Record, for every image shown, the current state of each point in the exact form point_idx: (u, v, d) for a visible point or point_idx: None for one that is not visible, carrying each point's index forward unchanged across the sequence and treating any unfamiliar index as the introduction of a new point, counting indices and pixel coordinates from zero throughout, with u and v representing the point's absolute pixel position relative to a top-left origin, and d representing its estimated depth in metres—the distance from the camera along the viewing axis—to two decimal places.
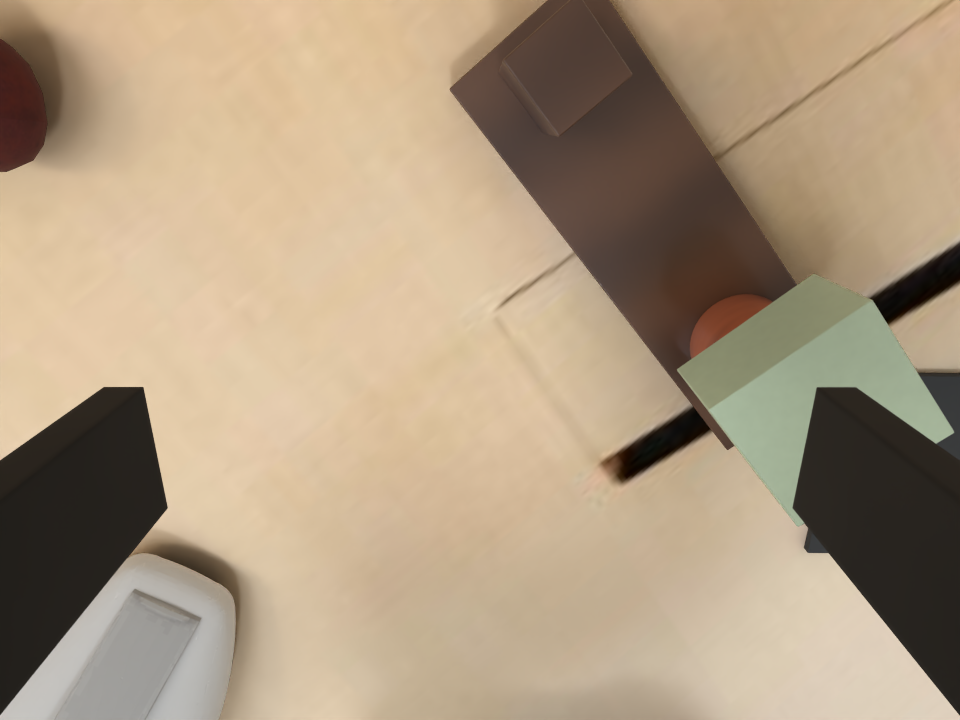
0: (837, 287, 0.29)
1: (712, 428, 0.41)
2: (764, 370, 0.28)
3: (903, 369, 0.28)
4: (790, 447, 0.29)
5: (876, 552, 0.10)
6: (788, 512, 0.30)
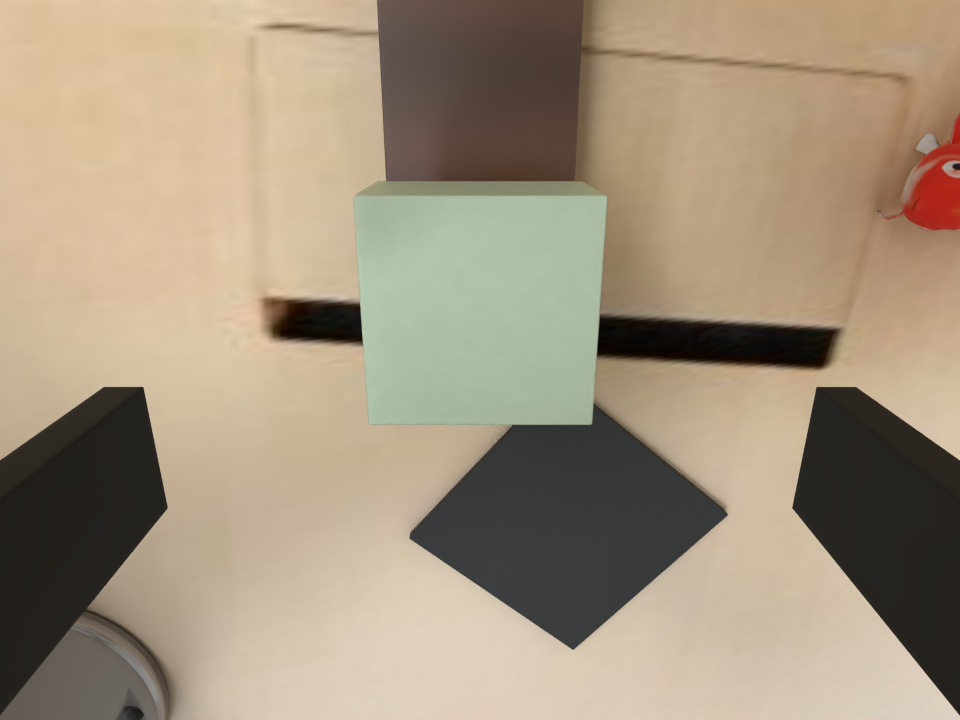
0: (589, 187, 0.22)
1: None
2: (446, 195, 0.20)
3: (587, 309, 0.21)
4: (416, 315, 0.21)
5: (876, 552, 0.10)
6: (368, 398, 0.22)
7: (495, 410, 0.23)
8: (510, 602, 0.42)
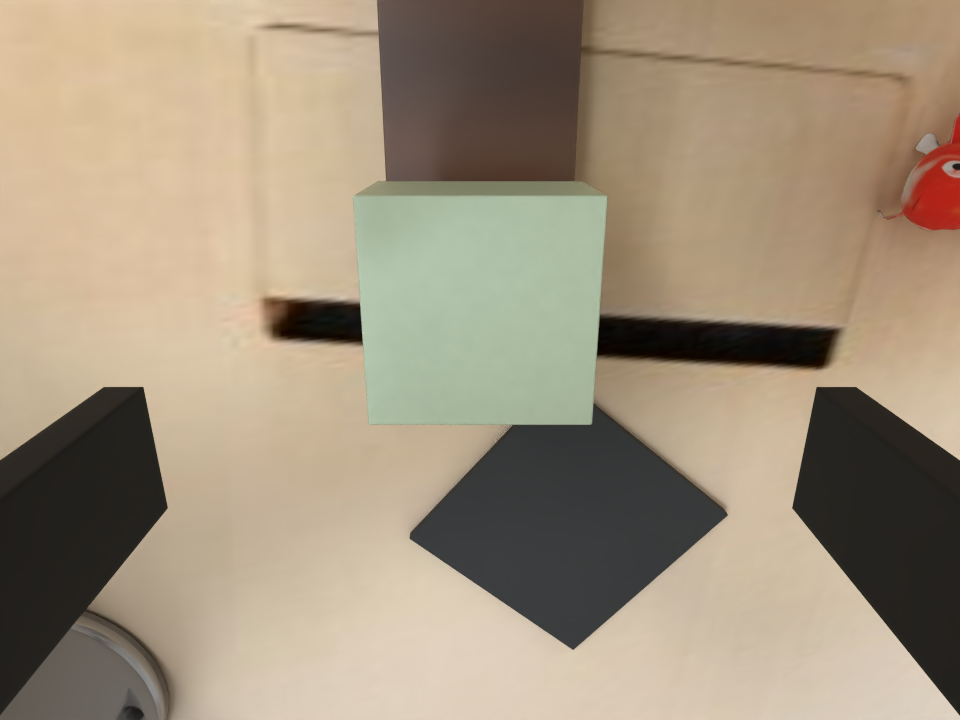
0: (589, 187, 0.22)
1: None
2: (446, 195, 0.20)
3: (587, 309, 0.21)
4: (416, 315, 0.21)
5: (876, 552, 0.10)
6: (368, 398, 0.22)
7: (495, 410, 0.23)
8: (510, 602, 0.42)
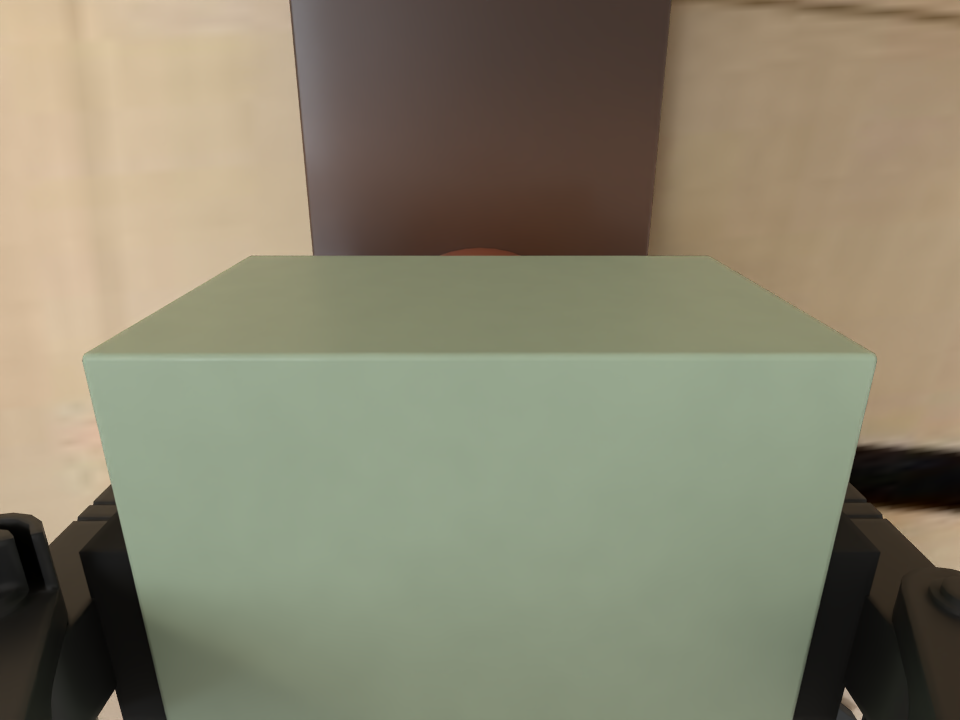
0: (760, 291, 0.09)
1: None
2: (373, 349, 0.06)
3: (777, 643, 0.08)
4: (305, 658, 0.08)
5: None
6: None
7: None
8: None
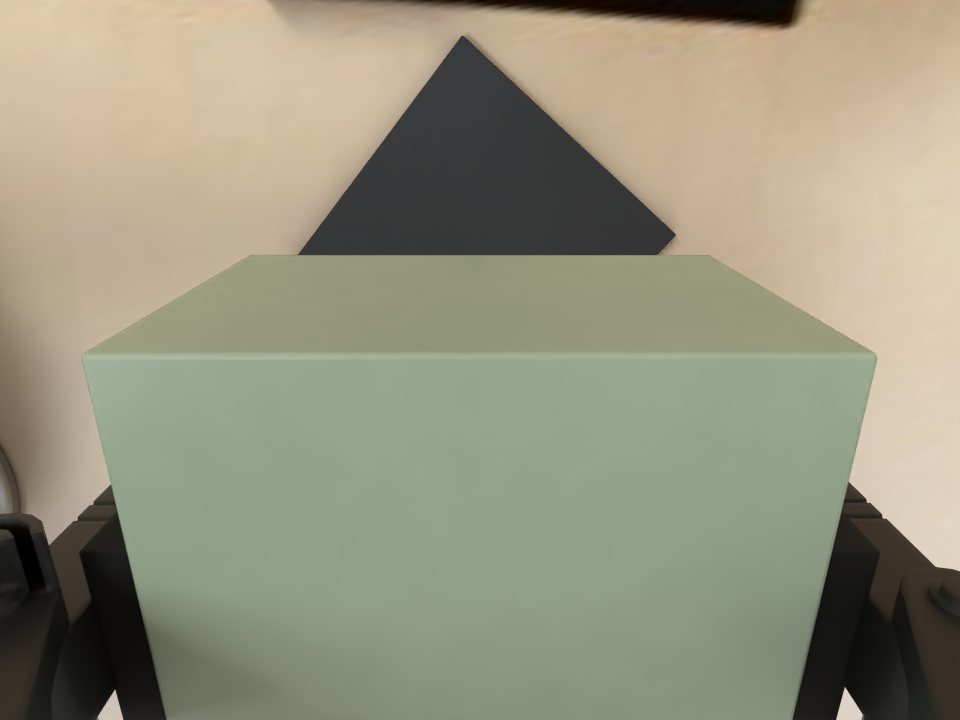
0: (760, 290, 0.09)
1: None
2: (373, 348, 0.06)
3: (777, 642, 0.08)
4: (304, 657, 0.08)
5: None
6: None
7: None
8: None
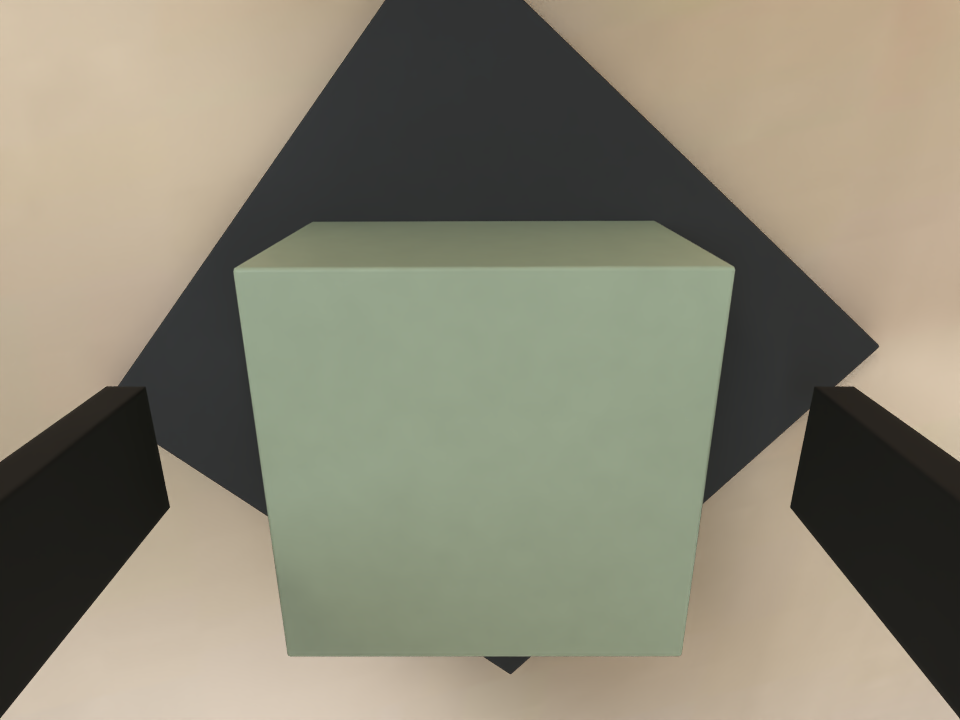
0: (680, 239, 0.12)
1: None
2: (416, 265, 0.10)
3: (684, 471, 0.11)
4: (366, 482, 0.11)
5: (873, 551, 0.10)
6: (284, 616, 0.13)
7: (511, 635, 0.13)
8: None
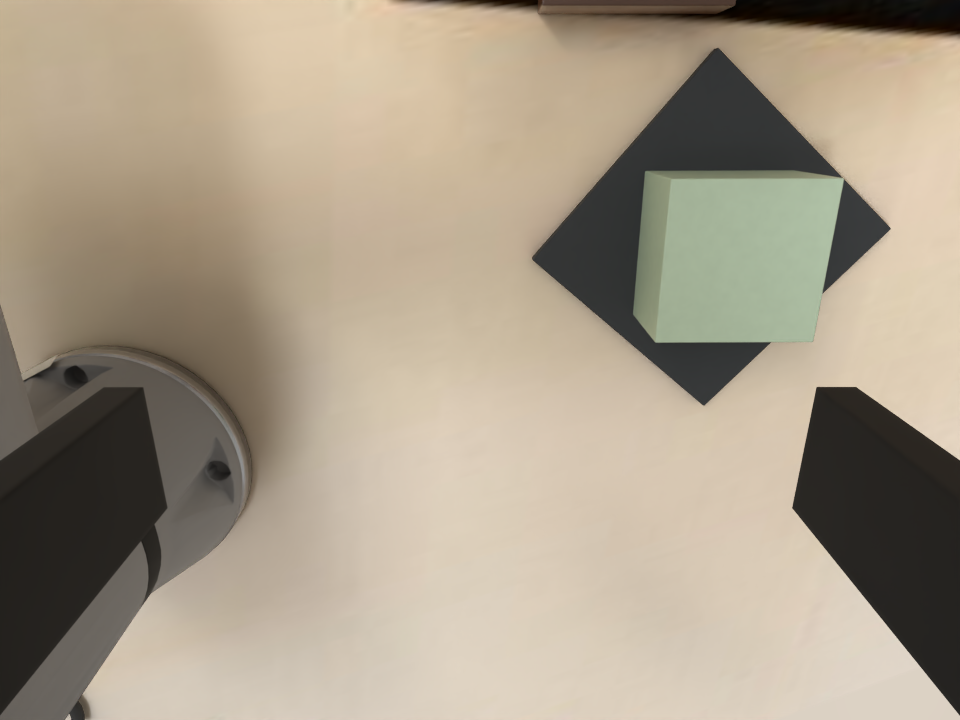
0: None
1: None
2: (733, 178, 0.29)
3: (820, 257, 0.31)
4: (701, 262, 0.31)
5: (876, 552, 0.10)
6: (658, 323, 0.32)
7: (746, 331, 0.32)
8: (638, 344, 0.37)
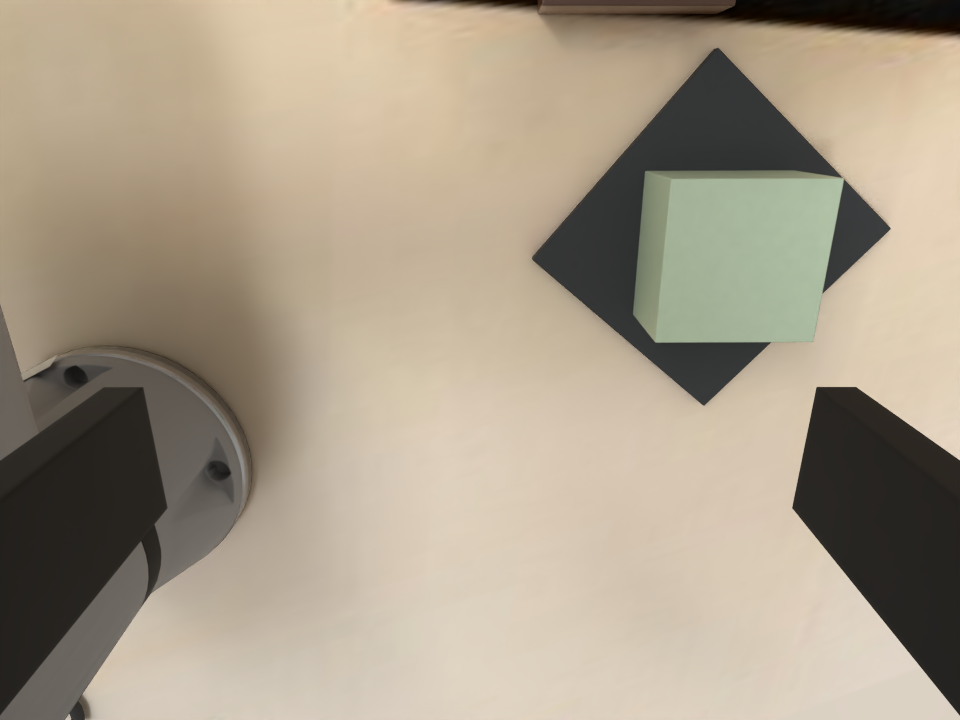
0: None
1: None
2: (733, 178, 0.29)
3: (820, 257, 0.31)
4: (701, 262, 0.31)
5: (876, 552, 0.10)
6: (658, 323, 0.32)
7: (746, 331, 0.32)
8: (638, 344, 0.37)
